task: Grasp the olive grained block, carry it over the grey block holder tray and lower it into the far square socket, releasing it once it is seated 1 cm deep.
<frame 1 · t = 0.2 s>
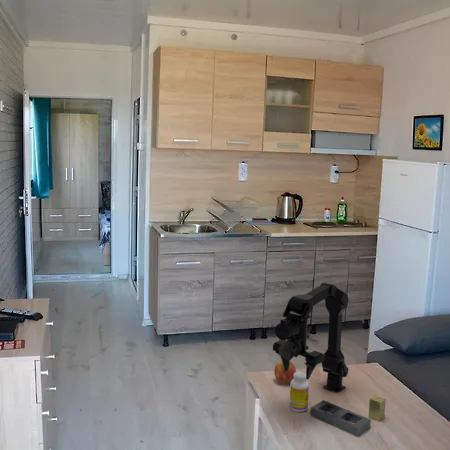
hand: (296, 374, 186), 14 cm above the table, fingers open, 9 cm apart
grey block holder tray: (339, 421, 183), on the table
fruit: (284, 382, 213), on the table
olive grained block: (376, 417, 186), on the table
supplement bottle: (298, 408, 191), on the table
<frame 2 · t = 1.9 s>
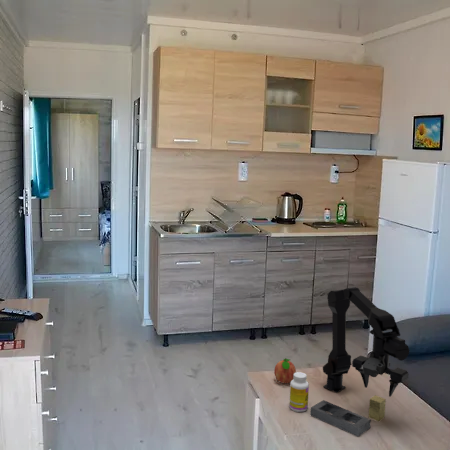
hand: (377, 391, 185), 10 cm above the table, fingers open, 9 cm apart
nothing on the table moved.
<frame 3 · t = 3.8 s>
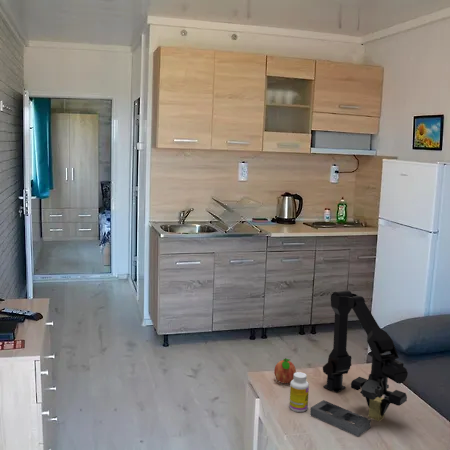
hand: (376, 413, 186), 2 cm above the table, fingers closed on olive grained block, 4 cm apart
olive grained block: (376, 417, 186), on the table, touching gripper
everything else where it was.
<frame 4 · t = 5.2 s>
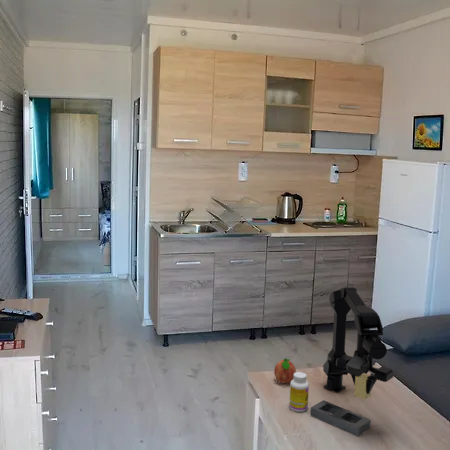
hand: (362, 391, 180), 12 cm above the table, fingers closed on olive grained block, 4 cm apart
olive grained block: (362, 395, 180), point 10 cm above the table, touching gripper
everything else where it was.
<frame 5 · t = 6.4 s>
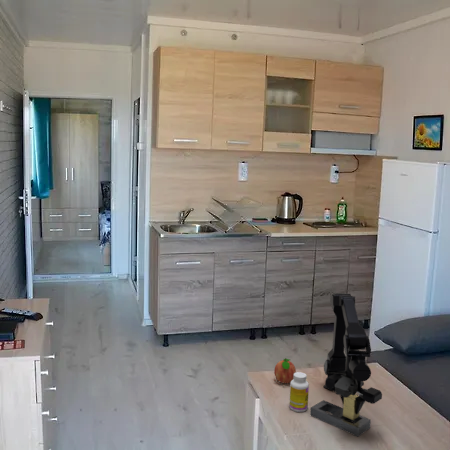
hand: (351, 411, 179), 5 cm above the table, fingers closed on olive grained block, 4 cm apart
olive grained block: (351, 415, 179), point 4 cm above the table, touching gripper
everything else where it was.
when the fingers open (3 cm above the table, at t = 7.0 s): olive grained block drops 2 cm, resting in grey block holder tray.
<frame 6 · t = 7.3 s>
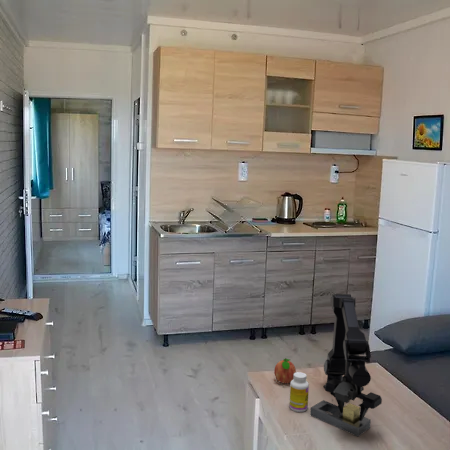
hand: (351, 416, 179), 3 cm above the table, fingers open, 7 cm apart
olive grained block: (350, 426, 180), resting in grey block holder tray
everything else where it was.
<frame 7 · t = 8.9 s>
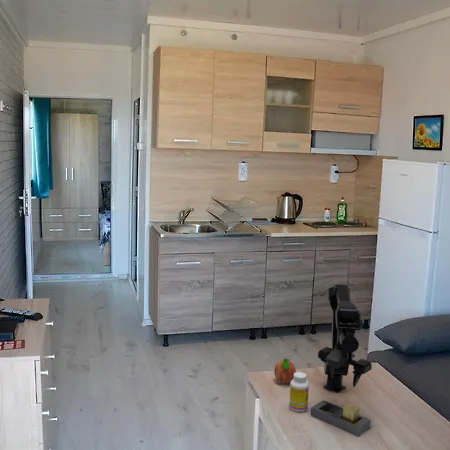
hand: (342, 382, 187), 11 cm above the table, fingers open, 9 cm apart
nothing on the table moved.
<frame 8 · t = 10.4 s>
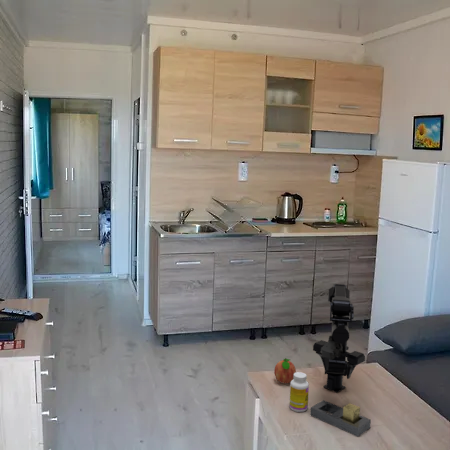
hand: (337, 374, 193), 12 cm above the table, fingers open, 9 cm apart
nothing on the table moved.
at the end: olive grained block 0.0 cm from the target spot on the grey block holder tray, point 0.0 cm above the grey block holder tray's base; olive grained block tilted 0°; the gripper is holding nothing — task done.
